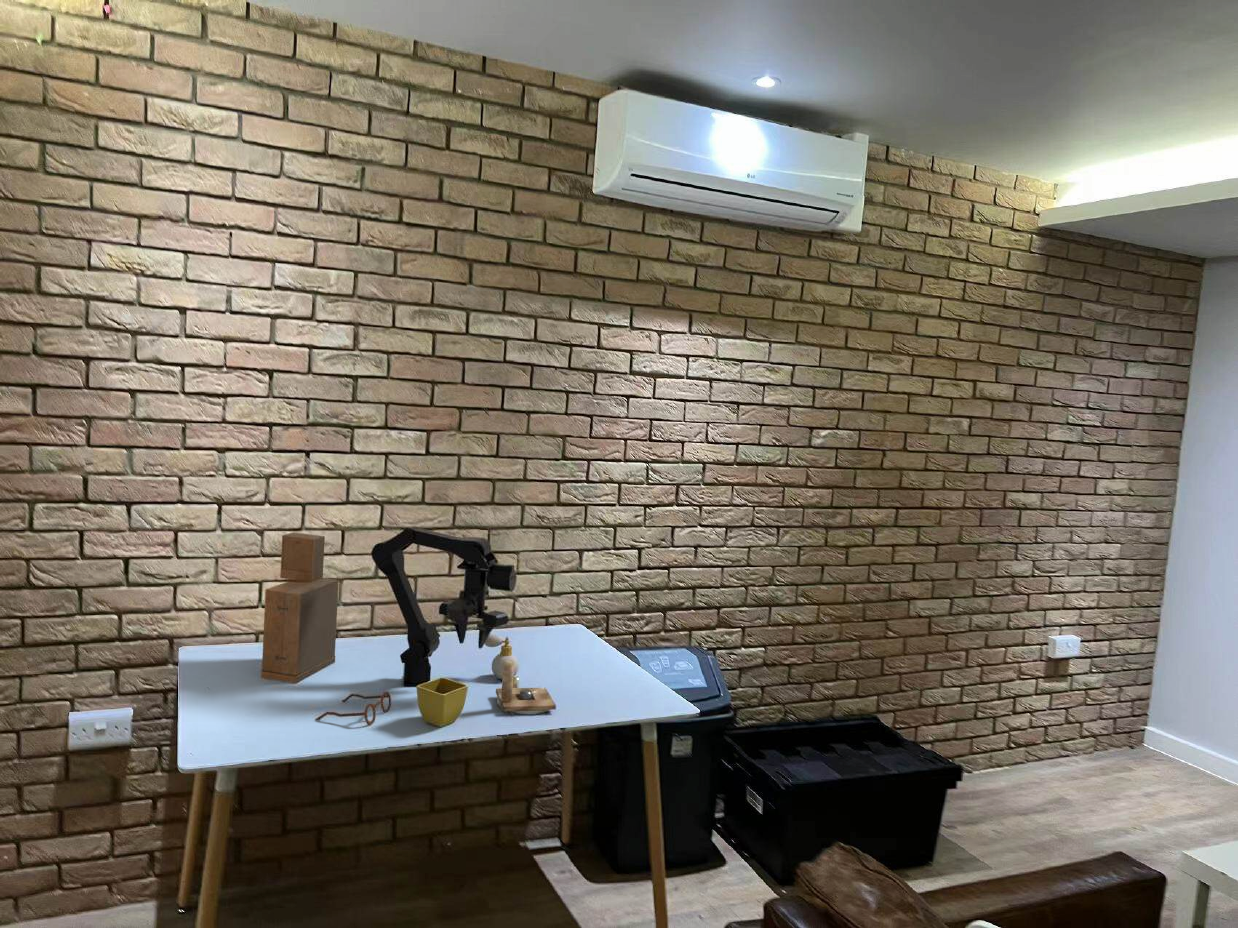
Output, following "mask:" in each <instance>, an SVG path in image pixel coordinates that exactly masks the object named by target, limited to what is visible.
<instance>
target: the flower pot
mask: <svg viewBox="0 0 1238 928" xmlns="http://www.w3.org/2000/svg"><path fill="white" fill-rule="evenodd" d="M468 690H469V685H468V684H466V683H462V682H459V681H455V680H453V679H449V678H448V677H447V678H446V677H443V676H442V677H437V678H434V679H432V680H430V681H429V682H427V683H423V684H420V685H418V686H416V695H417V696H416V697H417V706H418V709H419V712H420V714H421V717H422V718H423V720H424V721H425V723H427V724H431V725H433V726H435V727H440V728H443V727H445V726H448V725H450V724H452V723H455V722H456V721H457V720H458V718H459V717H460V716H461V714H462V712H463V710H464V706H465V703H466V699H467V694H468Z"/></svg>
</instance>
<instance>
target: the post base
mask: <svg viewBox="0 0 1238 928" xmlns="http://www.w3.org/2000/svg"><path fill="white" fill-rule="evenodd" d="M519 685H520V677H519V676H514V677H513V686H512V688H519ZM531 696H532V691H530V690H521V691H520V697H519V698H518V700H533V698H532V697H531ZM496 700H497V703H496V705H498V706H497V707H499V708H501V709H502V710H501V709H500V710H501V711H503V708H502V706H501V703H500V701H499V699H498V698H497V699H496ZM499 708H498V709H499ZM507 712H508V714H511V713H513V714H512V715H516V714H517V715H516V716H537V715H538V716H539V715H543V714H546V713H549V712H550V711H549V710H518V711H506V712H505V713H507Z"/></svg>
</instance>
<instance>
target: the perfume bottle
mask: <svg viewBox="0 0 1238 928" xmlns="http://www.w3.org/2000/svg"><path fill="white" fill-rule="evenodd" d="M510 642H511V641H510V640H509V637H508V636H506V637H505V640H504V639H503V638H502V637H500V636H499V635H497V634H493V633H490V634H489V636H488V638H487V640H486V642H485V643H484V645H485V646H486V647H488V648H496V647H498V646H500V648H501V649H500V652H499V653H498V654H497V655H496V656H494V658H493V659H492V661H491V671H492V674H493V675H494V676H495V677H496V678H497V679H499V680H502V678H503V664H504V661H505V660H512V661H514V672H513V677H516V675H517V674H518V672H519V667H520V663H519V660H518V658H517V656H516V655H514V654H513V651H512V650H513V646H511V645H509V644H510ZM502 644H503V645H502Z"/></svg>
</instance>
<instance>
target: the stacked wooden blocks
mask: <svg viewBox="0 0 1238 928" xmlns="http://www.w3.org/2000/svg"><path fill="white" fill-rule="evenodd" d="M325 538H326V535H325V536H324V535H317V534H309V533H308V534H307V533H299V532H290V533H287V534H282V535H281V552H280V553H281V555H280V557H281V558H280V559H281V560H280V576H279V577H280V578H281V579H286V580H287V579H288V580H289V581H286V582H283V583H280V584H277V585H275V586H271V587H268V588H265V589H264V590H265V591H264V593H265V595H264V596H265V597H264V615H263V616H264V617H263V635H262V636H263V640H262V657H261V658H262V659H261V671H260V679H265V680H266V679H267V680H272V681H278V682H285V683H291V684H299V683H300V682H302V681H304V680H306V679H308V678H310V677H311V676H312V675H313V676H314V675H315V674H316V673H318V672H320V671H322V670H323V669H326V668H328V667H329V666H331V665H333V664H335V663H336V638H337V620H338V617H337V616H338V605H339V604H338V601H339V600H338V599H339V585H340V584H339V583H340V582H339V579H334V578H327V577H324V563H325V560H324V559H325V544H326V543H325V541H326V540H325Z"/></svg>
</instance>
